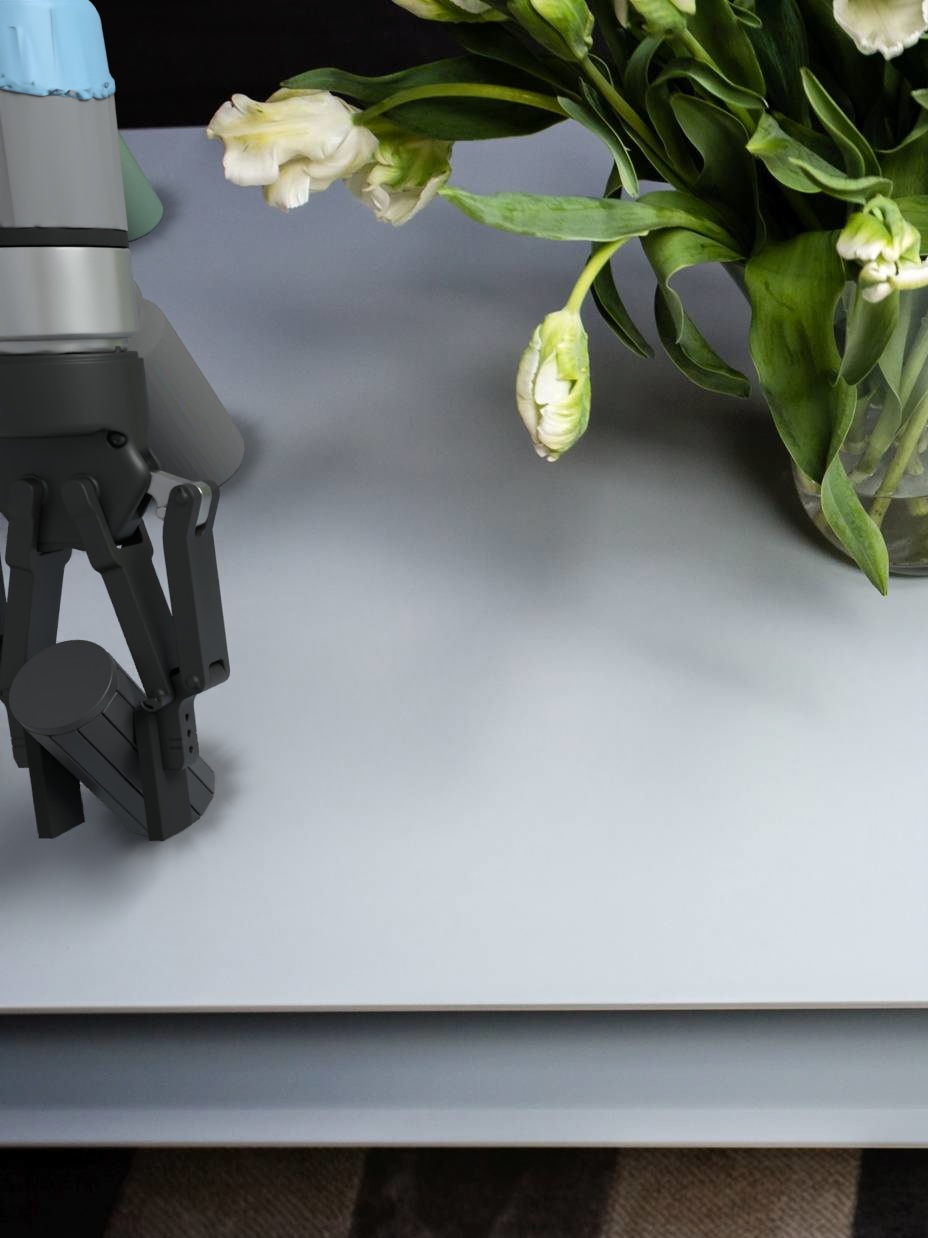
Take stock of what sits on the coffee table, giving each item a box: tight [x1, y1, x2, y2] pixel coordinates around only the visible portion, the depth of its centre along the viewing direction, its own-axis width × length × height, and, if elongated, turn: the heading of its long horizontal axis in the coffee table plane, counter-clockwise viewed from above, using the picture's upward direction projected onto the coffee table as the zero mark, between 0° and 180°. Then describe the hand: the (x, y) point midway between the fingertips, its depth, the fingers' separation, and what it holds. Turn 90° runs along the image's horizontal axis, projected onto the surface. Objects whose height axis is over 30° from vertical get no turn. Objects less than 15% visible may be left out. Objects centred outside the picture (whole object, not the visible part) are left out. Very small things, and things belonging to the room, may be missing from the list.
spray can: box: [118, 130, 164, 242], centre depth 104 cm, size 5×5×13 cm
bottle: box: [126, 279, 246, 487], centre depth 91 cm, size 6×6×15 cm
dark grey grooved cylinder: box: [9, 639, 216, 837], centre depth 80 cm, size 5×5×11 cm
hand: (116, 830), depth 80 cm, fingers closed on dark grey grooved cylinder, 5 cm apart
